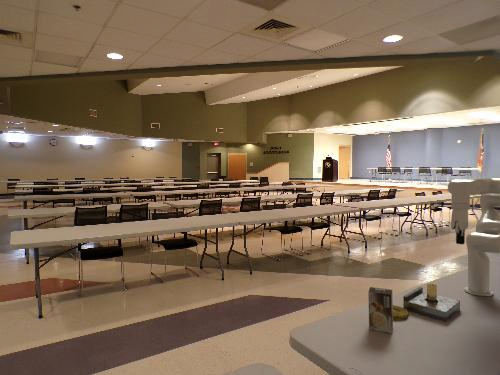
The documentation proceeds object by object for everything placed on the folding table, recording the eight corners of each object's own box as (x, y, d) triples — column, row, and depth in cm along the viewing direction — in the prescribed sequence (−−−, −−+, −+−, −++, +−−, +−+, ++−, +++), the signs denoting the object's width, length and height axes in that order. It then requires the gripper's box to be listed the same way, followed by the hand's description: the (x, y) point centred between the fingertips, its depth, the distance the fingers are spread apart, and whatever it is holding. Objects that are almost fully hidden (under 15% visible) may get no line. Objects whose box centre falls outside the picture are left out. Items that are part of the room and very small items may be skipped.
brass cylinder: (428, 303, 157) (428, 282, 157) (438, 305, 154) (438, 284, 154) (425, 305, 155) (425, 284, 154) (434, 308, 152) (434, 286, 151)
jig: (419, 299, 167) (419, 286, 167) (459, 310, 154) (460, 296, 153) (403, 309, 155) (403, 296, 155) (445, 322, 142) (445, 307, 141)
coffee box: (393, 327, 138) (393, 289, 138) (392, 334, 133) (392, 294, 132) (370, 323, 143) (370, 286, 142) (368, 329, 137) (368, 291, 136)
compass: (388, 307, 159) (388, 303, 159) (413, 315, 150) (413, 310, 150) (374, 314, 152) (374, 309, 152) (399, 323, 142) (399, 318, 142)
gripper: (457, 204, 168) (456, 240, 169) (446, 207, 158) (446, 245, 159) (474, 205, 162) (474, 242, 163) (464, 208, 153) (463, 247, 153)
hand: (460, 243), depth 161 cm, fingers closed
